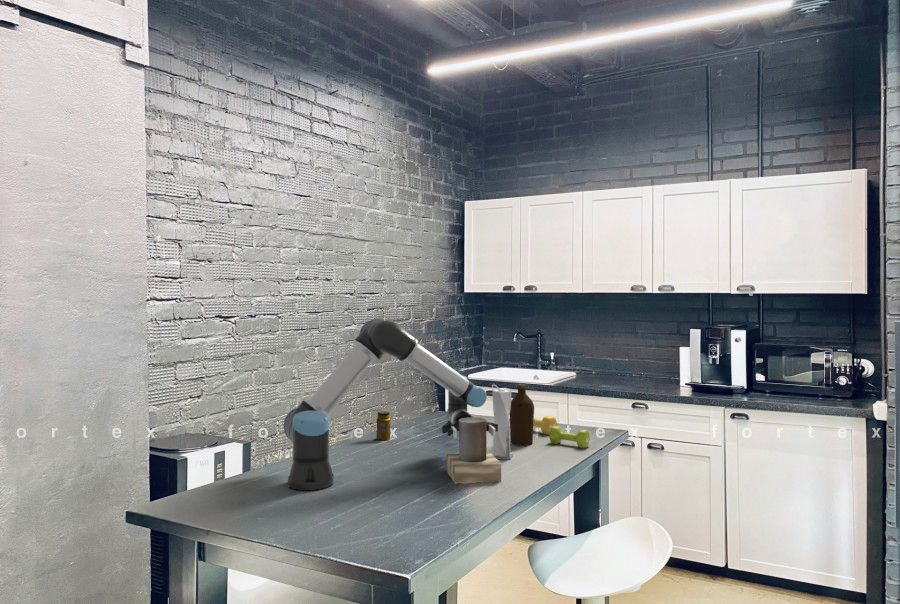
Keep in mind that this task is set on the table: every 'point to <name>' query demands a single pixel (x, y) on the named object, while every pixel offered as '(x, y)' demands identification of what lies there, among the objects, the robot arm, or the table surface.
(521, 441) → the olive oil
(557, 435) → the dumbbell
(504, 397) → the skyscraper
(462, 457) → the pillar candle
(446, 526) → the table surface
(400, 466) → the table surface
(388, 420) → the condiment
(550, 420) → the dumbbell
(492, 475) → the oak block
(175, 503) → the table surface
